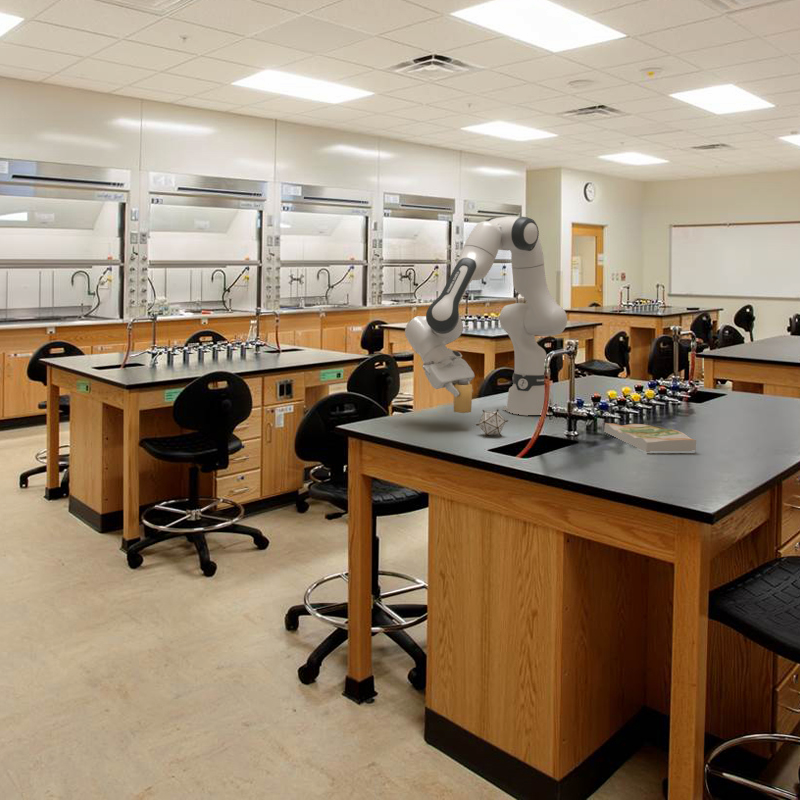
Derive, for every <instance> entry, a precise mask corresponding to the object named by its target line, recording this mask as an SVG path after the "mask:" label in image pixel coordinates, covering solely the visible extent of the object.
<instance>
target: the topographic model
mask: <svg viewBox="0 0 800 800" xmlns="http://www.w3.org/2000/svg"><path fill="white" fill-rule="evenodd" d="M603 428H604V429H603V430H604V431H603V433H604V432H606V433H608V434H610V435H612V436H614V437H616V438H618V439H620V440H622V441H624V442H626V443H629V444H631V445H633V446H635V447H637V448H639V449H641V450H643V451H646V452H650V451H692V450H695V451H696V450H697V449H696V448H697V439H694V438H691V437H689V436H688V435H687V434H685V433H684V432H682V431H679V430H676V429H672V428H665V427H662V426H658V425H657V426H655V425H650V424H642V423H630V424H625V425H621V424H617V423H611V422H610V423H608V422H604V427H603Z"/></svg>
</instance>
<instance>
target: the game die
mask: <svg viewBox="0 0 800 800" xmlns="http://www.w3.org/2000/svg"><path fill="white" fill-rule="evenodd" d="M499 411H500V410H499V409H498V408H497V409H496V411H495V410H494V411H485V409H482V412H483V413H482V415H481V417H480V419H479V422H478V423H476V424H475V426H478V427H479V428H480V429H481V430H482V431H483V433H484V434H485V438H486V437H488V435H489V436H491V435H499V437H502V434H501V433H502V430H503V428H504V425H505V424H506V423H507V422H509V420H507V419H504V417H503V416H502V415H501V414H500V413H499Z"/></svg>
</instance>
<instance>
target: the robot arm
mask: <svg viewBox="0 0 800 800" xmlns="http://www.w3.org/2000/svg"><path fill="white" fill-rule="evenodd" d="M539 236H540V233H539V226H538V224H537V223H536V221H535V220H534V219H533V218H532V217H527V216H516V215H515V216H514V215H513V216H511V215H509V216H507V215H506V216H502V217H490V218H488V219H486V220H483V221H479V222H478V223H477V224H476V225H475V226H474V228H473V229H472V231H471V232H470V234H469V235H468V237H467V238H466V241H465V243H464V245H463V247H462V249H461V251H460V254H459V256H458V259H457V262H456V264H455V267H454V269H453V271H452V272H451V274H450V277H449V278H448V280H447V282H446V284H445V285H444V288H443V290H442V291H441V293H440V295H439V296H438V297H437V298H436V299H435V300H434V301H433V302H432V303H431V304H430V305H429V306H428V308H427V310H426V312H425V313H426V314H425V315H422V316H421V315H417V316H415V317H413V318H412V319H410V320H409V321H408V323H407V324H406V327H405V329H404V335H405V337H406V339H407V342H408V343H409V344H410V346H411V347H412V349H413V350H414V352H415V353H416V354H417V355H419V356H420V359H421V361H422V369H423V370H424V375H425V377H426V379H427V380H428V382H429V384H430V385H431V387H432V388H434V389H435V390H438V389H444V388H445V390H447V391H448V392H449V393H451V394H452V395H453V397H454V396H455V397H458V396H459V395H461V392H460V391H459V390H458V389H456V388H455V387H454V384H456V383H458V379H468V384H471V383H470V382H472V380H473V379H474V378H475V372H474V371H473V370H472V368H471V366H470V365H469V364H468V362H467V361H466V360H465V359H464V358H462V357H463V355H462V353H461V352H460V351H457V350H455V349H454V350H453V349H451V348H450V347H447V346H446V345H448V344H450V343H453V342H454V341H456V340H458V339H459V338H460V337H461V335H462V333H463V331H464V324H463V320H462V319H461V316H460V313H459V311H460V310H459V307H460V303H461V301H462V298H463V296H464V294H465V293H466V291H467V289H468V287H469V285H470V283H471V282H473V281H480V280H482V279H484V278H485V277H486V276H487V275H488V273H489V272H490V270H491V269H492V268H493V264H494V262H495V260H496V258H497V254H498V252H499V251H510V253H511V256H510V257H511V259H510V260H511V272H512V282H513V283H512V284H513V289H514V290H515V292H516V293H518V294H520V295H521V296H522V297H523V298H524V299H525V302H524V303H523V302H521V303H520V302H516V303H511V304H506V305H504V306H503V308H502V309H501V310H500V313H499V324H500V327H501V328H502V329H503V331H505V333H506V334H507V335H508V337H509V338H510V341H511V343H512V346H513V351H514V353H513V354H514V372H513V373H512V377H511V378H512V383H513V384H512V386H510V387H509V388H508V394H507V401H506V402H507V403H506V406H504V407H503V409H502V411H505V410H506V412H508V413H509V412H510V414H512V413H513V414H514V415H518V414H519V415H520V416H528V415H540V413H541V410H542V406H543V402H544V363H545V359H546V360H547V352H546V350H545V349H544V348H543V347H542V346H540V345H539V344H538V343H537V340H536V337H535V336H542V337H551V336H557V335H561V334H562V333H563V332H564V330H565V329H566V326H567V324H568V316H567V312H566V310H565V309H564V308H563V307H561V306H560V305H559V304H558V303H557V301H556V300H555V299H554V298H553V296H552V295H551V293H550V290H549V288H548V285H547V278H546V271H545V270H546V269H545V260H544V259H545V258H544V253H543V247H542V244H541V240H540V237H539ZM473 392H474V389H472V393H473ZM549 406H554V394H553V392H552V390H550V396H549ZM513 414H512V415H513Z"/></svg>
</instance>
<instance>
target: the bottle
mask: <svg viewBox="0 0 800 800" xmlns="http://www.w3.org/2000/svg"><path fill="white" fill-rule="evenodd" d="M454 387H455V388H456V389H458V390H459V391H460V392H461V395H459V396H458V397H455V396H454V395H453V412H454V413H459V414H460V413H461V414H465V413H466V414H468V413H472V404H473V403H472V401H473V399H472V398H473V392H472V390H473V384H472V383H470V384H468V379H458V383H456V384H454Z"/></svg>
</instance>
